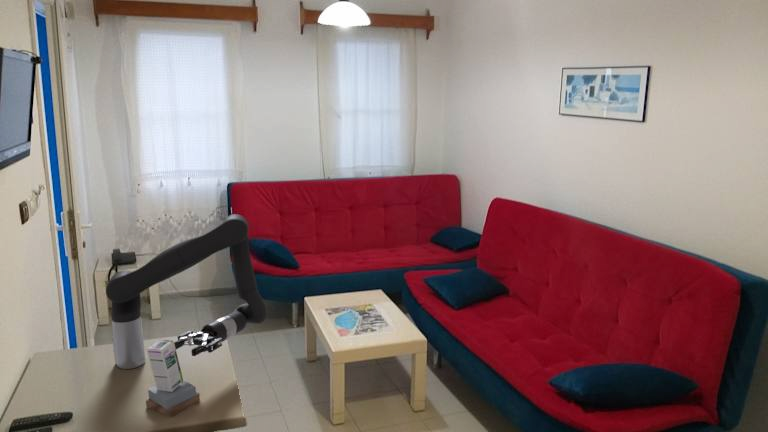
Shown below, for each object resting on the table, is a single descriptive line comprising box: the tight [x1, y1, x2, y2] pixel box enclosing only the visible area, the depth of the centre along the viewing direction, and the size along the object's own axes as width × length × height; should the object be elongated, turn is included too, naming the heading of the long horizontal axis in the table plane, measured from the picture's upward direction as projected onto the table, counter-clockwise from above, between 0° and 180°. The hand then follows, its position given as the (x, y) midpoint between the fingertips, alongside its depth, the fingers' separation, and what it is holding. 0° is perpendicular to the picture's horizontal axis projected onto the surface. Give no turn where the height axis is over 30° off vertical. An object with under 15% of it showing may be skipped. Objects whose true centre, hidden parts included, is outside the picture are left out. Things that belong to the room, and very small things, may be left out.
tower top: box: [147, 379, 197, 409], centre depth 181 cm, size 10×10×3 cm
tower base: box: [145, 391, 201, 418], centre depth 182 cm, size 11×11×3 cm
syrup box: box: [146, 339, 184, 392], centre depth 179 cm, size 6×6×14 cm
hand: (182, 350), depth 183 cm, fingers open, 8 cm apart
